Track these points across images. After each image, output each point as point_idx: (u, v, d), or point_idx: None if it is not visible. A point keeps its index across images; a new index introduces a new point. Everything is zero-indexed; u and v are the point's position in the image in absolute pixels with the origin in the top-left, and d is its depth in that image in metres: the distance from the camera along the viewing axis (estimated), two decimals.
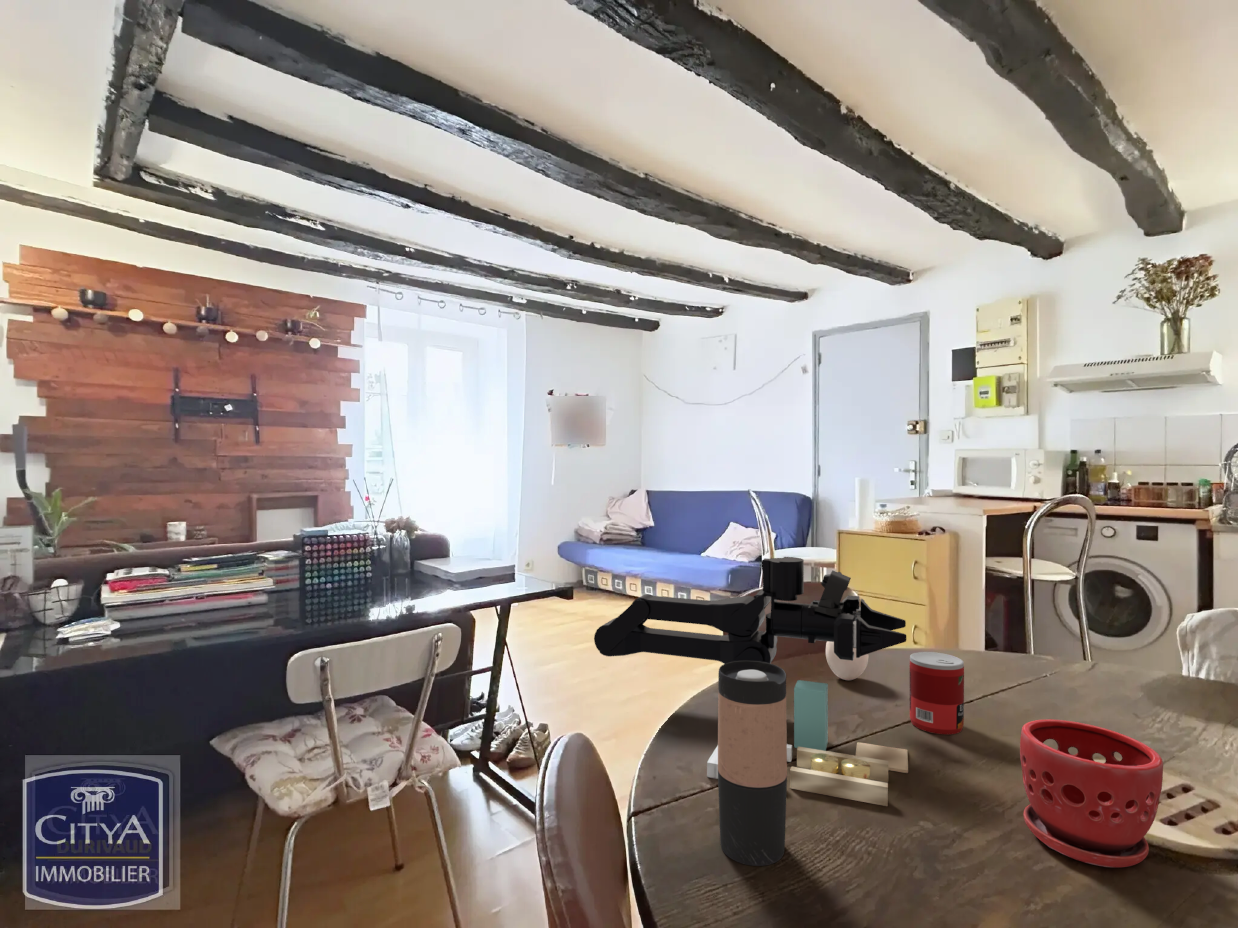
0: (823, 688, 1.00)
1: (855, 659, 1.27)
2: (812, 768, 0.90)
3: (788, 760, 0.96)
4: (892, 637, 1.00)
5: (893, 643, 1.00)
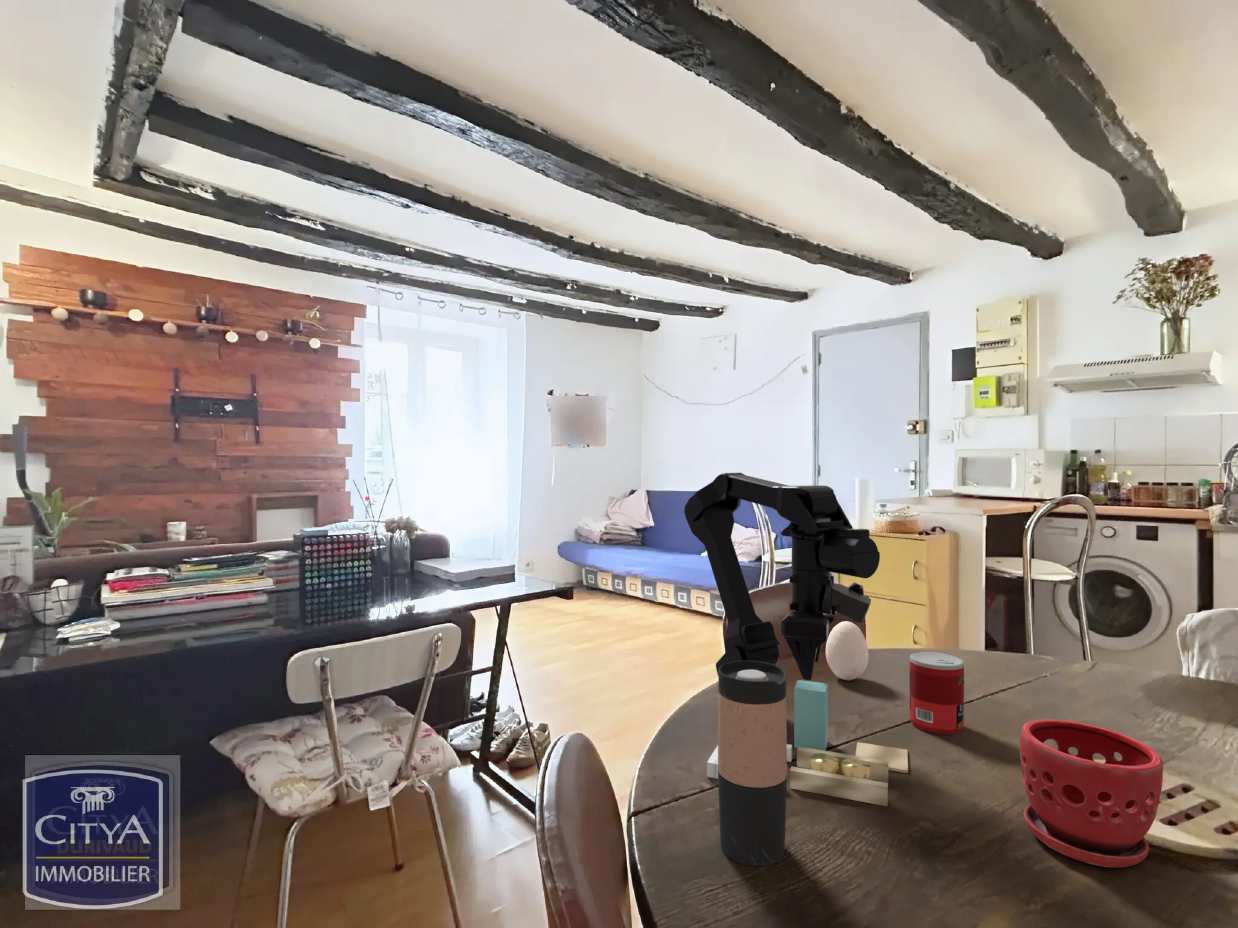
0: (823, 688, 1.00)
1: (855, 659, 1.27)
2: (812, 768, 0.90)
3: (788, 760, 0.96)
4: (807, 667, 0.97)
5: (800, 668, 0.97)
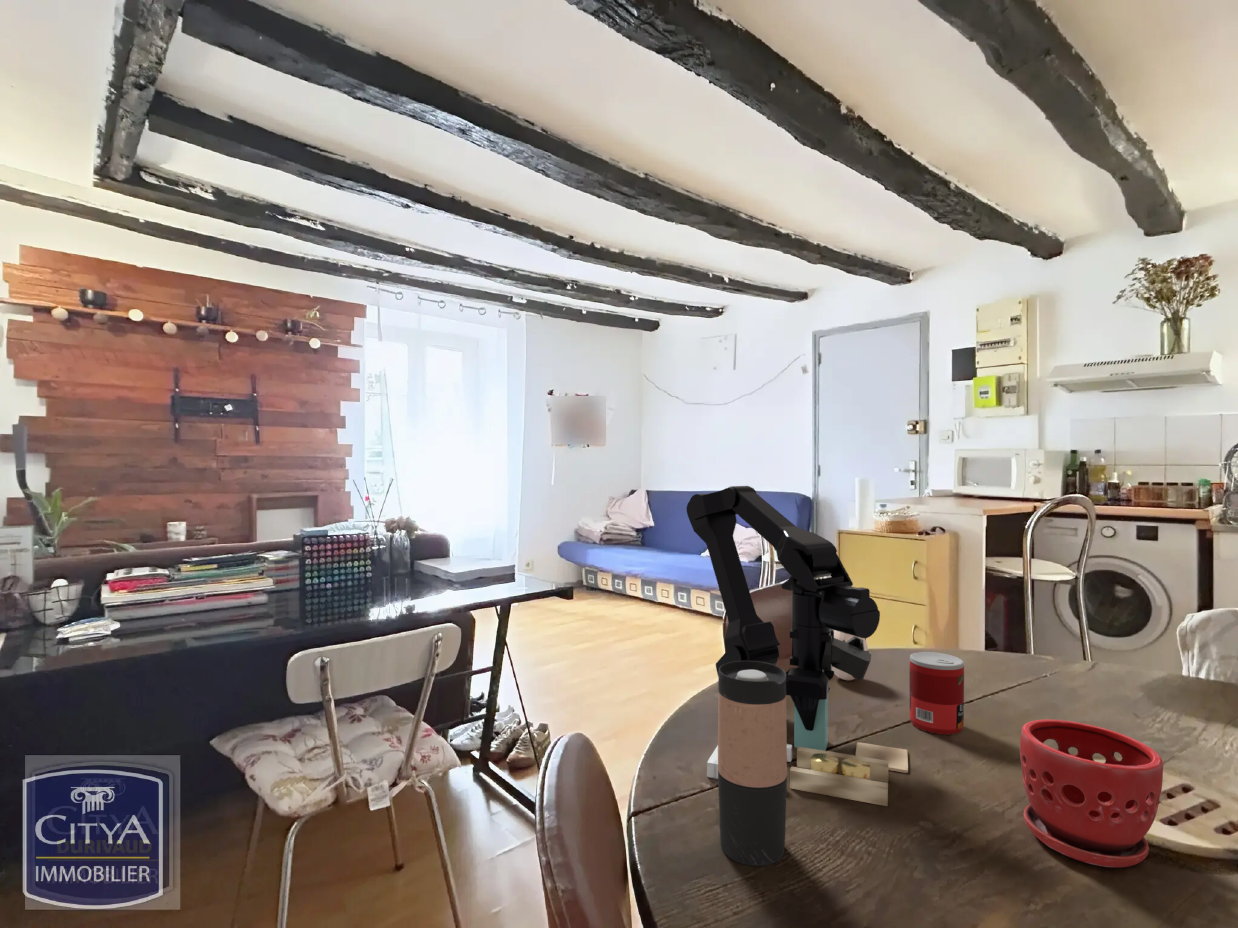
0: None
1: None
2: (812, 768, 0.90)
3: (788, 760, 0.96)
4: (809, 719, 0.99)
5: (802, 718, 0.99)
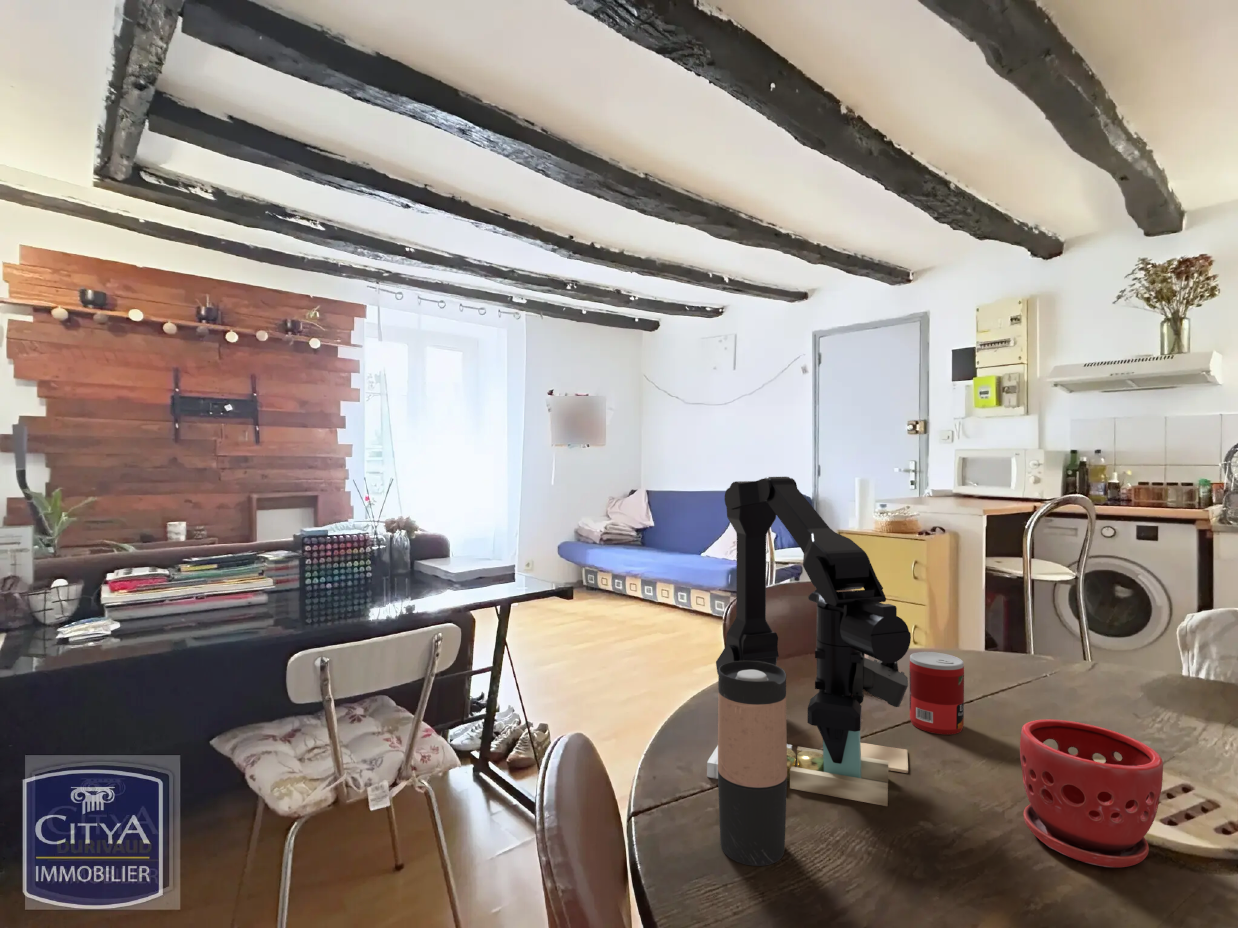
0: None
1: None
2: None
3: None
4: (837, 750, 0.87)
5: (830, 750, 0.87)
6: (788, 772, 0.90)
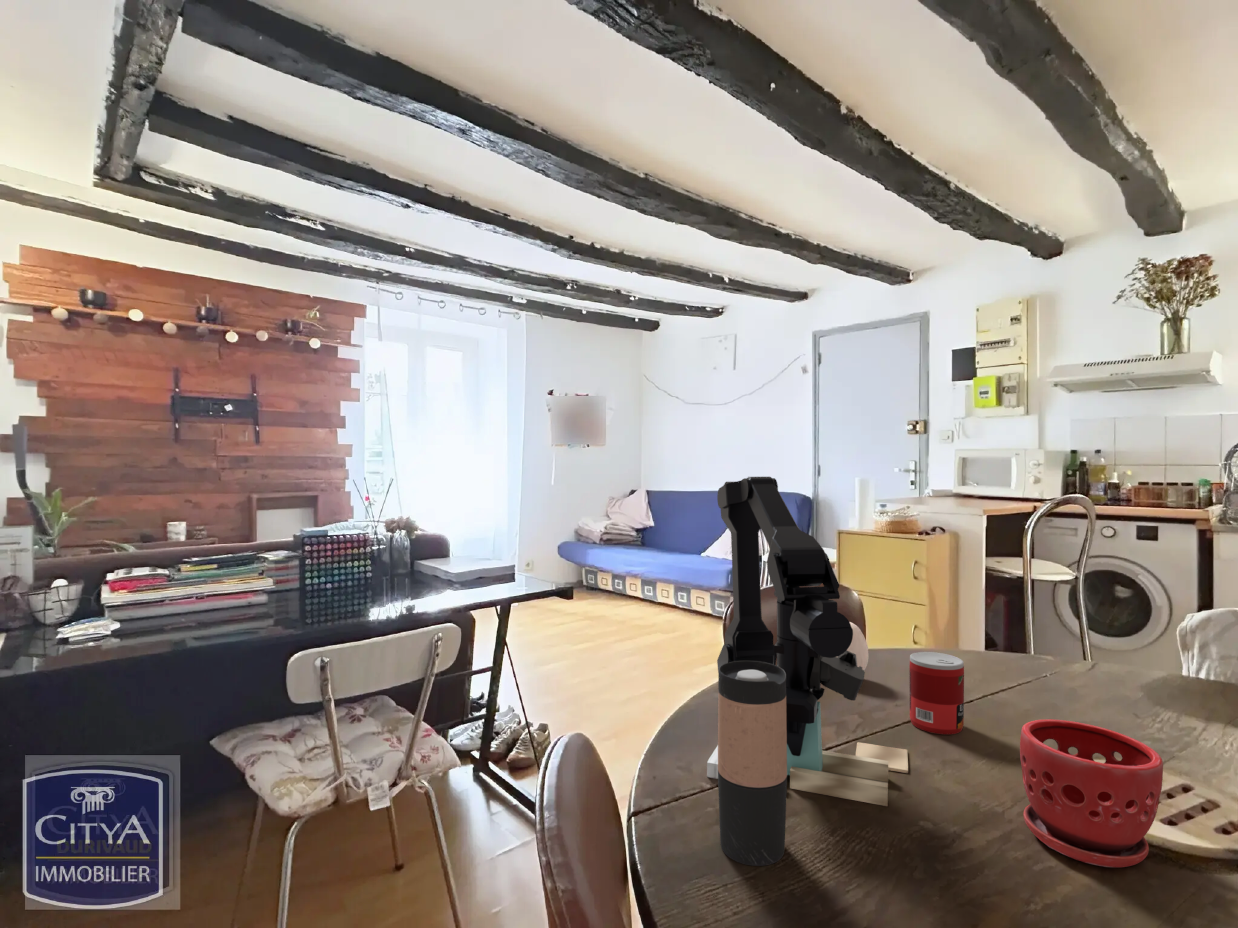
0: None
1: None
2: None
3: None
4: (795, 743, 0.89)
5: (788, 743, 0.89)
6: None
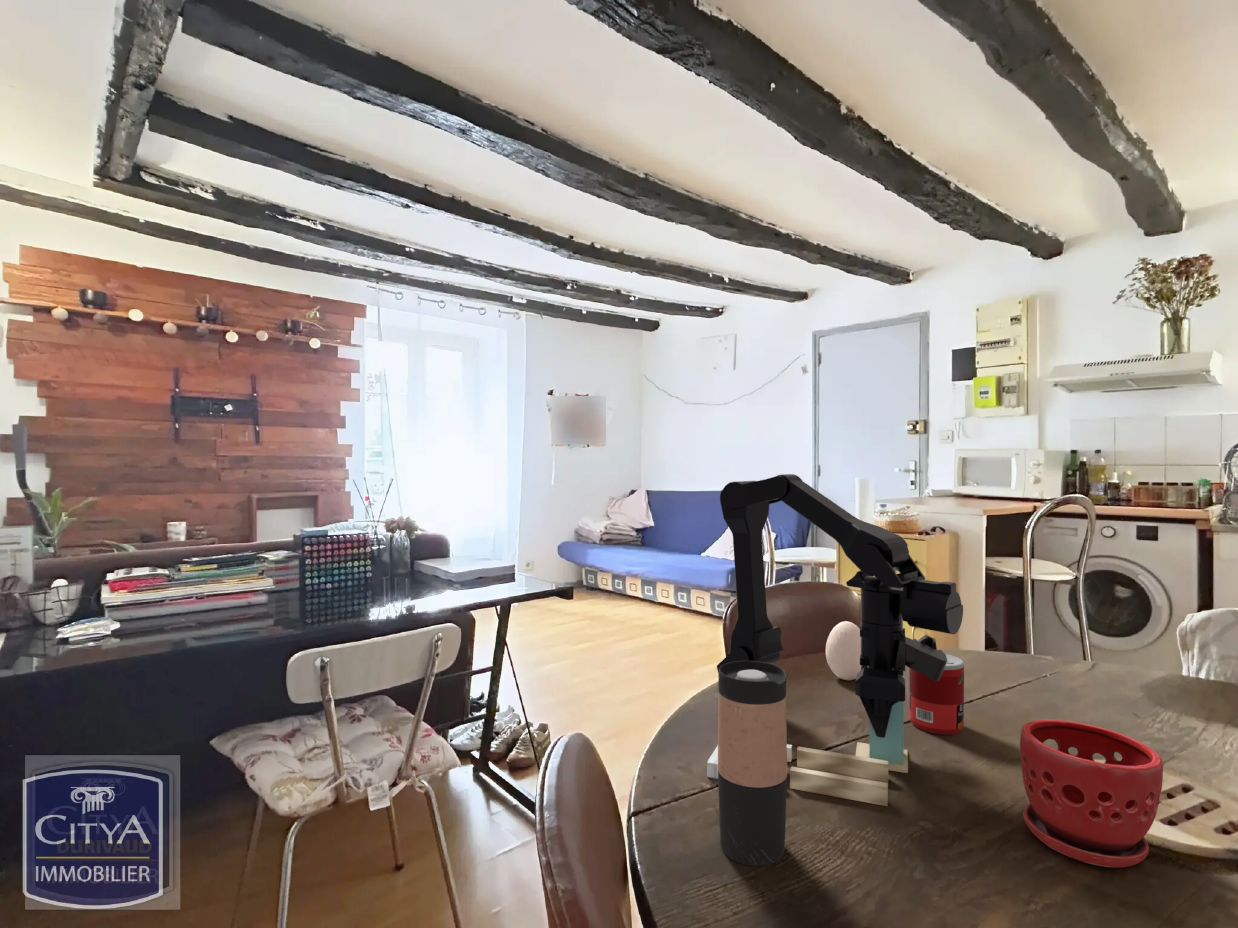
0: None
1: (855, 659, 1.27)
2: None
3: (788, 760, 0.96)
4: (881, 725, 0.93)
5: (874, 725, 0.93)
6: None
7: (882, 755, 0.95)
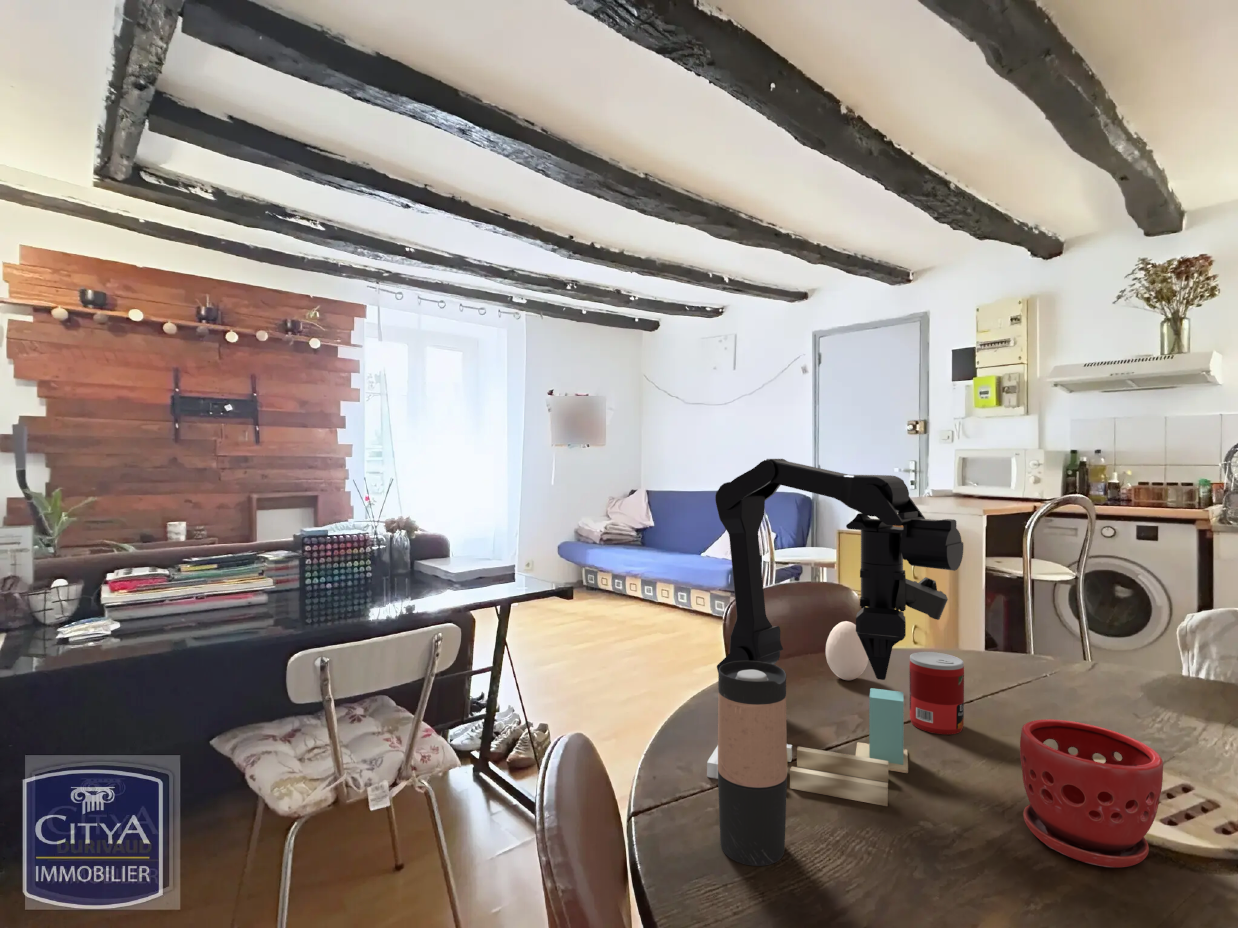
0: (900, 697, 0.95)
1: (855, 659, 1.27)
2: None
3: (788, 760, 0.96)
4: (881, 667, 0.92)
5: (874, 667, 0.92)
6: None
7: (882, 755, 0.95)
